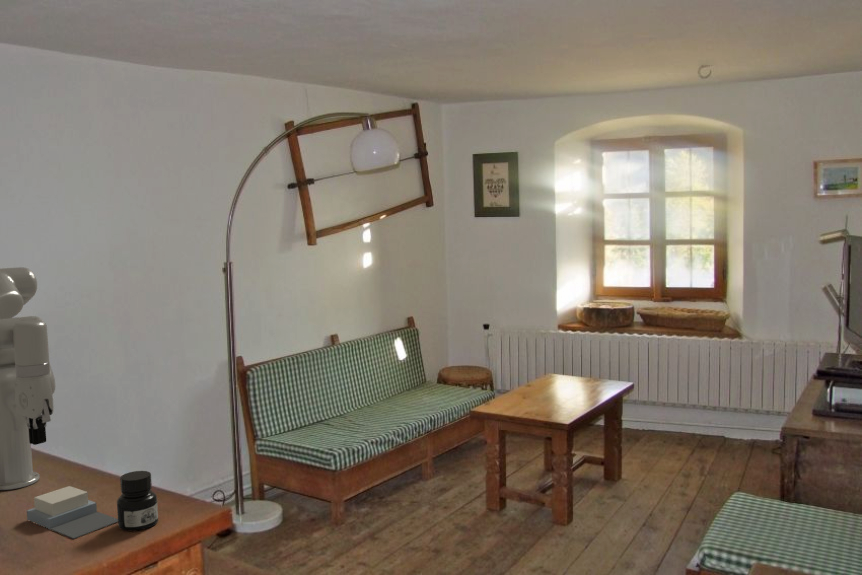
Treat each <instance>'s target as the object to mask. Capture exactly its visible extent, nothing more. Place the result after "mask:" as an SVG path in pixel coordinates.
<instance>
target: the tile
mask: <svg viewBox="0 0 862 575" xmlns="http://www.w3.org/2000/svg"><path fill="white" fill-rule="evenodd" d="M33 500H34V502H33V503H34V508H35V509H36V510H38V511H41V512H43V513H46V514H48V515H51V516H55V515H58V514H61V513H64V512H67V511H70V510H72V509H75V508H78V507H81V506H84V505H87V504H88V500H89V494H88V491H86V490H82V489H81V488H76V487H74V486H71V485H68V486H66V487H61V488H59V489H56V490H53V491H50V492H47V493H44V494H43V493H42V494H40V495H38V496H34V497H33Z"/></svg>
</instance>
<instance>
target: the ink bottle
mask: <svg viewBox="0 0 862 575" xmlns="http://www.w3.org/2000/svg"><path fill="white" fill-rule="evenodd" d="M119 479H120V480H119V481H120V493H121V495H120V496H119V497H118V498H117V499H116V500H117V501H116V508H117V509H116V510H117V512H116V513H117V519H118V523H117V526H118V528H119V529H120V530H122V531H127V532H137V531H143V530H146V529H149V528H151V527H153V526H155V525H157V524H158V522H159V508H158V507H159V506H158V497H157V493H156V492H154V491H152V485H153V484H152V483H153V482H152V474H151V472H150V471H147V470H136V471H135V470H134V471H128V472H126V473H123V475H120V477H119Z"/></svg>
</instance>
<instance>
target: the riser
mask: <svg viewBox="0 0 862 575" xmlns="http://www.w3.org/2000/svg"><path fill="white" fill-rule="evenodd" d="M97 506H98V505H97V502H95V501H92V500H89V499H88V504H87V505H84V506H81V507H78V508H75V509H72V510H70V511H67V512H64V513H61V514H58V515H55V516H51V515H48V514H46V513H43V512H41V511H38V510H36V509H35V507H33V508H29V509H26V520H27V521H28V520H30V521H32V522H35V523H37V524H39V525H38V526H40V525H41V526H40V527H42V526H44V527H43V528H45V527H46V529H47V528H48V529H47V530H51V528H54V527H56V526H59V525H62V524H65V523H67V522H70V521H73V520H76V519H79V518H81V517H84V516H87V515H90V514H92V513H95V512H98V511H97V510H98V509H97ZM30 521H29V522H30ZM32 522H31V523H32ZM35 523H34V524H35ZM37 524H36V525H37Z"/></svg>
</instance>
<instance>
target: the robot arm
mask: <svg viewBox="0 0 862 575" xmlns="http://www.w3.org/2000/svg"><path fill="white" fill-rule="evenodd" d="M37 290H38V281H37V277H36V275H35V273H34V272H33V271H32V270H31V269H29V268H27V267H21V266H20V267H7V268H4V267H3V268H0V491H6V490H7V491H9V490H15V489H21V488H25V487H28V486H31V485H33V484H35V483H36V482H38V481H39V480H40V473H39V472H37V471H34V470H33V469H34V468H33V455H32V445H34V446H36V445H40V444H43V443H46V442H47V434H46V433H47V432H46V427H47V423H49V422H51V420H52V419H51V416H52V415H53V414H54V398H53V396H54V393H55V391H56V380H55V379H56V378H55V375H54V372H53V369H52V366H51V364H50V354H49V353H50V351H49V339H48V336H49V335H48V327H47V323H46V322H45V321H44V320H43V319H42V318H41V317H39V316H36V315H35V316H34V315H33V316H30V315H29V316H21V317H19V316H17V315H18V314H20V312H21V311H22V310H23V307H24V306H25V305H26V304H27V303H28V302H30V300H32V298H33V297H34V296H35V295H36V294H37ZM16 316H17V317H16Z"/></svg>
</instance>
